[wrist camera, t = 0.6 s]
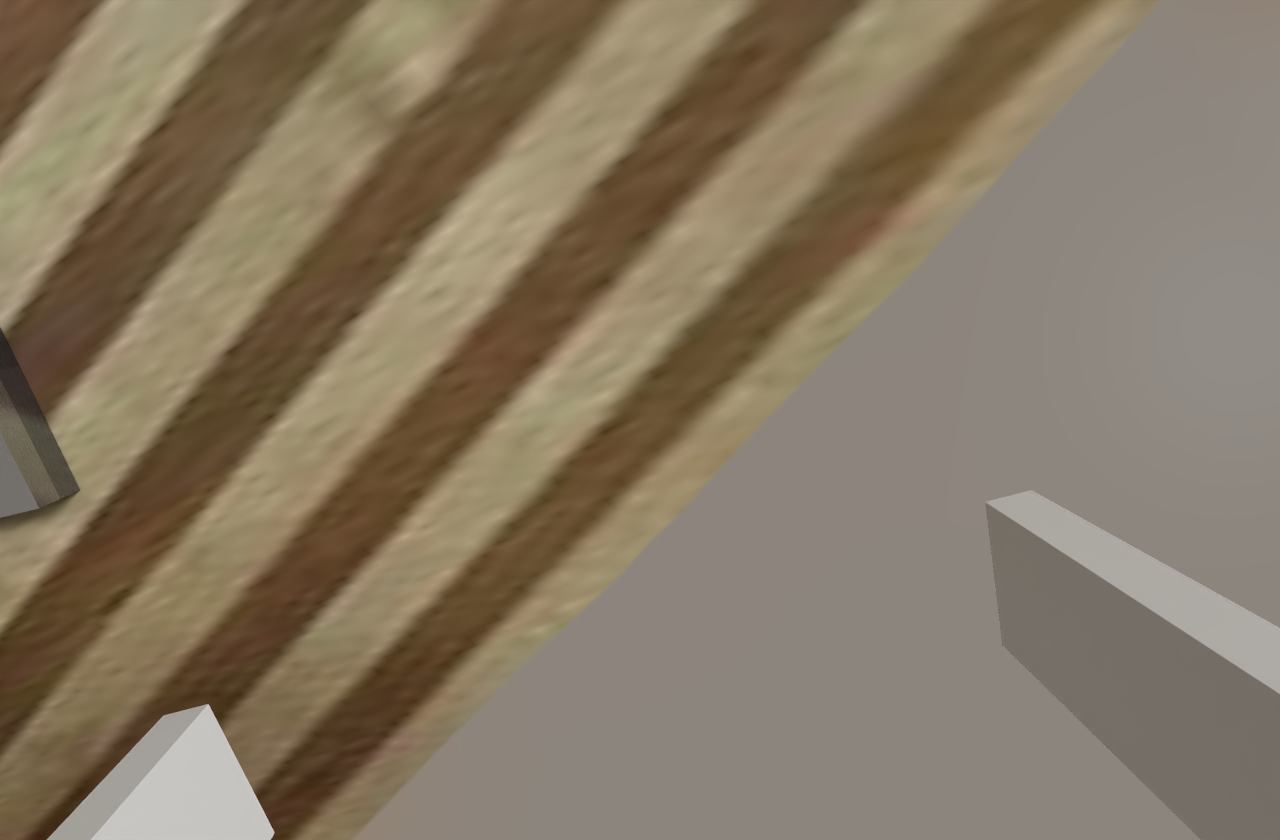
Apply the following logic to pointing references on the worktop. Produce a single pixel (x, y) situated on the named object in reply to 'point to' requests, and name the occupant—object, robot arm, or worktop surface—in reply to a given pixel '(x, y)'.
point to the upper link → (28, 451)
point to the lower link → (6, 354)
